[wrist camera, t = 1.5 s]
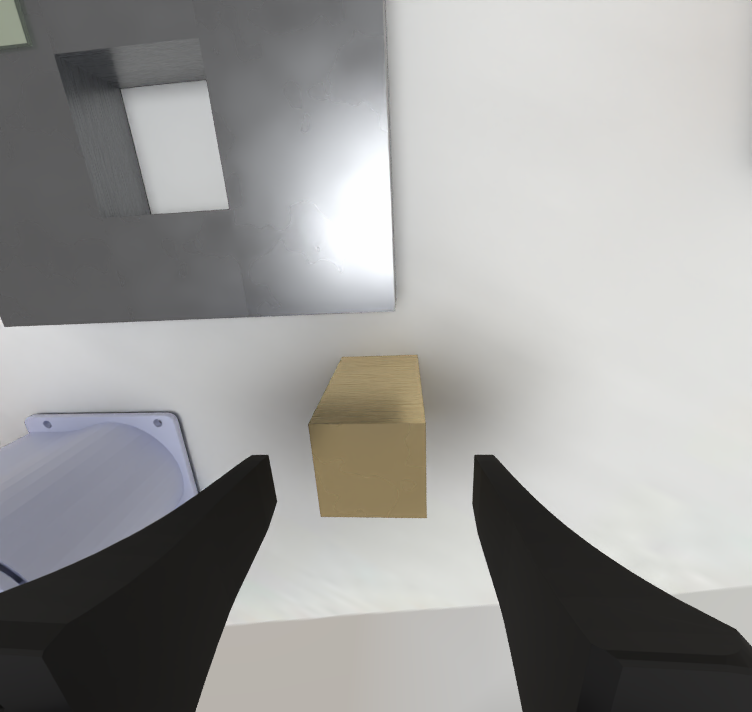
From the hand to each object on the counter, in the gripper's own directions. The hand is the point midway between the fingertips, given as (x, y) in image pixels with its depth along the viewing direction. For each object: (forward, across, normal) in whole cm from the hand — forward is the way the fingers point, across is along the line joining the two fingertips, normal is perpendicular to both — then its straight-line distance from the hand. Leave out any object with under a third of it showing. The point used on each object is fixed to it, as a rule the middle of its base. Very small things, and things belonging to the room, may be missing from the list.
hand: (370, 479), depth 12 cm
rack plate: (+7, +8, -12) cm, 16 cm away
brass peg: (+7, 0, 0) cm, 7 cm away
